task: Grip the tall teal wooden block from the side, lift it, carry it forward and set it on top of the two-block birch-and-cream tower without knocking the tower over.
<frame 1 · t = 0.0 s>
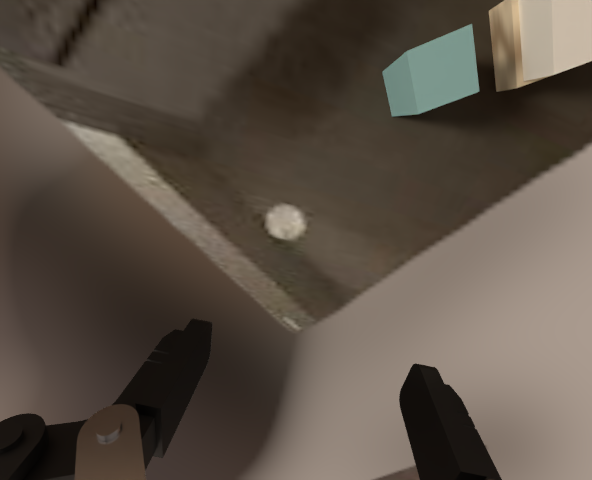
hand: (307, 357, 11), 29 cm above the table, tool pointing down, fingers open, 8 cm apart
tower top block: (562, 26, 26), point 4 cm above the table
tower base block: (531, 37, 30), on the table
teal block: (408, 86, 32), on the table
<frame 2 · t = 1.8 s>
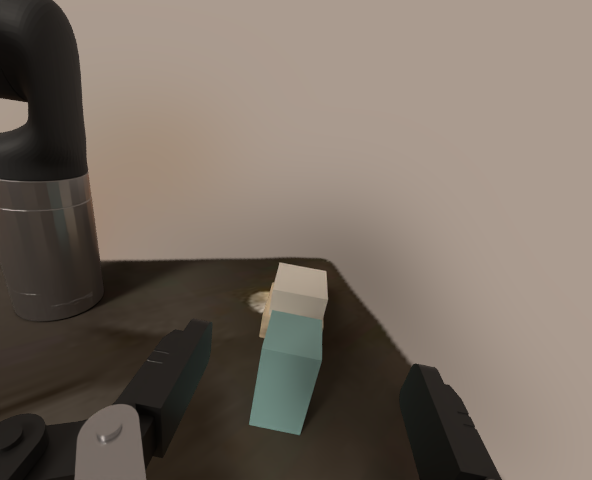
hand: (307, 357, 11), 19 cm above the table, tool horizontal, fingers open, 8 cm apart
tower top block: (296, 303, 39), point 4 cm above the table, touching tower base block
tower base block: (291, 324, 41), on the table, touching tower top block
teal block: (278, 405, 29), on the table
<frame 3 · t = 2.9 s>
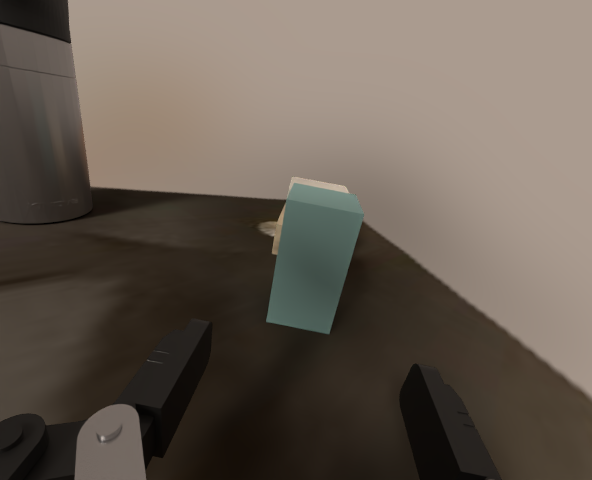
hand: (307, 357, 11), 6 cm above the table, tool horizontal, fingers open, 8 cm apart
tower top block: (313, 219, 34), point 4 cm above the table, touching tower base block
teal block: (300, 308, 24), on the table
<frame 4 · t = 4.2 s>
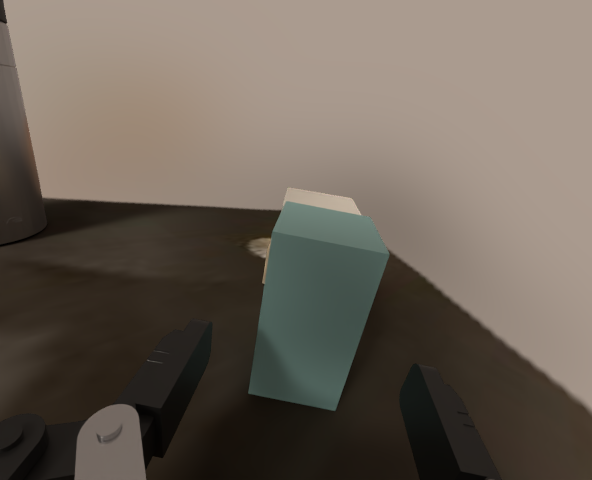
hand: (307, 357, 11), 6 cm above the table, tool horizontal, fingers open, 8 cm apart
tower top block: (313, 239, 28), point 4 cm above the table
teal block: (295, 366, 18), on the table
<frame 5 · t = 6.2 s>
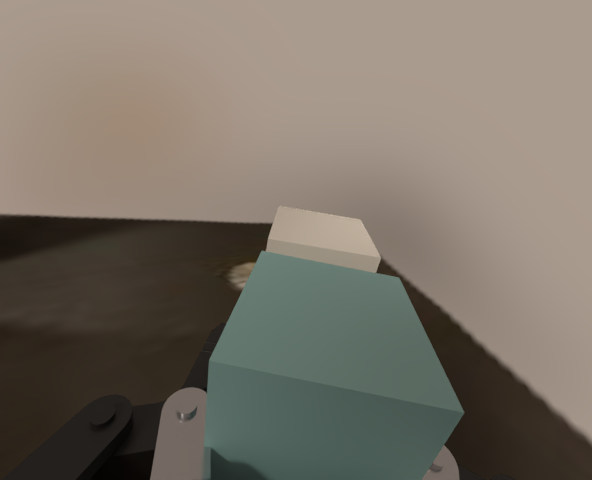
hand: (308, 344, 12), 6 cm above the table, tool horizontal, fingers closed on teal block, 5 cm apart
tower top block: (311, 274, 22), point 4 cm above the table, touching tower base block
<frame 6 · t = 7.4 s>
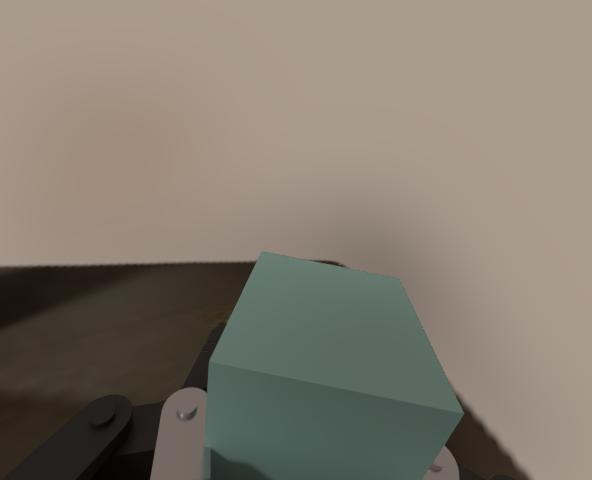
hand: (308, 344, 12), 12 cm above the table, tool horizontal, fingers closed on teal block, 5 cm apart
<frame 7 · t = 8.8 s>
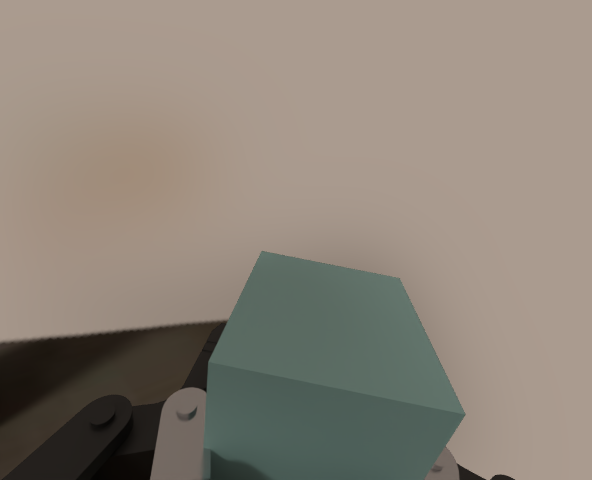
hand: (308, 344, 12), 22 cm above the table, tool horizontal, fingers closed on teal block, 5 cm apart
when the fingers open (15 cm above the table, at t = 11.6 s): teal block drops 2 cm, resting on tower top block.
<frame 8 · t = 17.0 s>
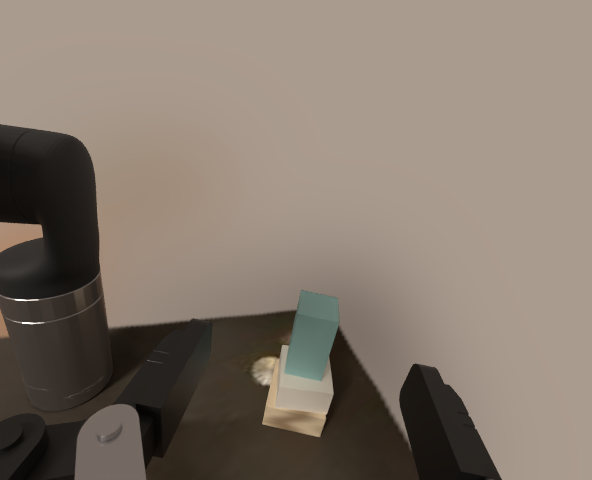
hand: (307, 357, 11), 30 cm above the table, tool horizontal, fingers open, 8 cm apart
tower top block: (300, 387, 40), point 4 cm above the table, touching teal block, tower base block
tower base block: (294, 404, 41), on the table, touching tower top block
teal block: (304, 362, 39), point 8 cm above the table, touching tower top block
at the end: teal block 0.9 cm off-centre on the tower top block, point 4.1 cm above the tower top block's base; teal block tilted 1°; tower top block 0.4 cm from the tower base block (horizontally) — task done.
